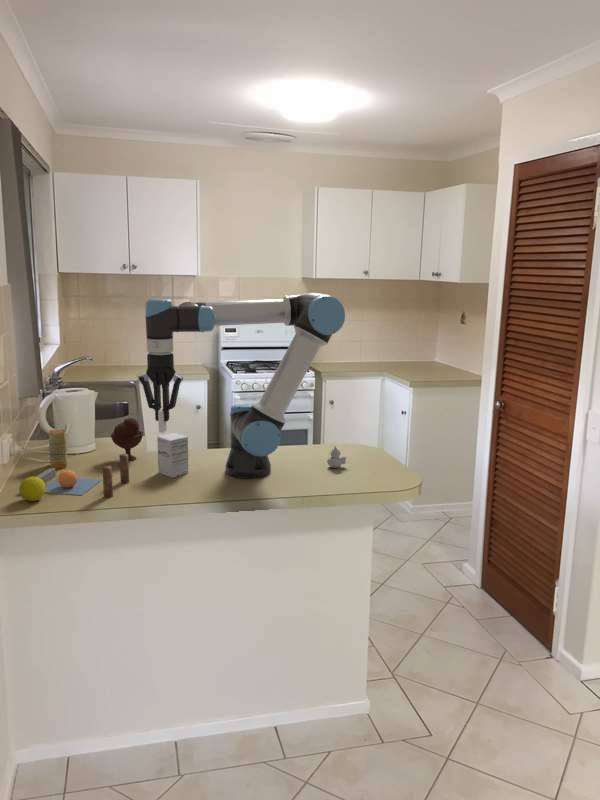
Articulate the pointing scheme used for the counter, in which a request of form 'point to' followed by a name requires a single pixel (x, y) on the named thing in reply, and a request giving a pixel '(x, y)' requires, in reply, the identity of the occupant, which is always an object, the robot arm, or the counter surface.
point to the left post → (107, 482)
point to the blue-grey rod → (47, 475)
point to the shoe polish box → (58, 448)
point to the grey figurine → (336, 458)
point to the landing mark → (77, 489)
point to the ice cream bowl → (127, 436)
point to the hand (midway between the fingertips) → (162, 431)
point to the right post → (124, 468)
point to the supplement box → (172, 454)
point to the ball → (67, 479)
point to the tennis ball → (32, 489)
